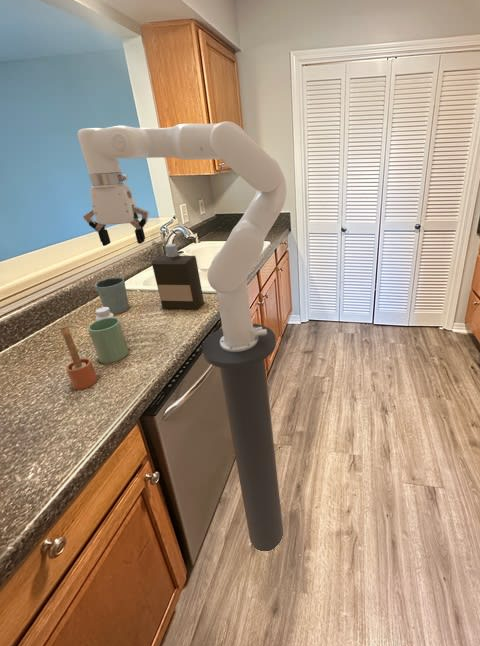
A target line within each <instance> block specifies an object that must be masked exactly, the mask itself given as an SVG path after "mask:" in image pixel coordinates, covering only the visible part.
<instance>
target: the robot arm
mask: <svg viewBox="0 0 480 646" xmlns="http://www.w3.org/2000/svg"><path fill="white" fill-rule="evenodd" d="M77 138H78V142H79V146H80V149H81V153H82V156H83V159H84V163H85V167H86V168H87V173H88V177H89V181H90V184H91V187H89V192H90V200H91V206H92V210H90V211H88V212H87V213H86V214H84V215H83V220H85V222H86V223H87V224H88V226H90V227H91V228H92V229H94V231H95V232H96V233H98V237H99V240H100V243H101V244H102V246H103V247H106V246H108V245H110V244H111V239H110V235H109V231H108V230H107V229H106V226H107V225H108V226H109V225H124V224H130V225H131V226H133V228H135V229H134V233H135V234H134V235H135V238H136V242H137V244H139V245H141V244H143V243H144V242H145V240H146V236H145V232H144V231H145V230H144V227H145V226H146V224H147V223H148V220H149V217H150V212H149V211H148V210H146V209H143V208H140V207H138V206H137V203H136V200H135V198H134V196H133V192H132V190H131V188H130V186H129V185H128V184H125V181H128V180H129V177H128V175H127V174H123V172H122V169H121V165H120V161H119V159H125V160H126V159H129V160H131V159H145V158H147V159H149V158H153V159H155V158H158V159H159V158H171V159H172V158H173V159H180V160H182V161H183V160H186V161H190V160H191V161H193V160H194V161H195V160H197V161H199V160H200V161H201V160H221V161H222V162H223V163H225V165H227V167H229V168H230V169H231V170H232V171H233V172H234V173H236V174H237V175H238V176H239V177H240V178H241V179H243V180H244V181H245V182H246V183H247V184H248V185H249V186H251V188H253V189H254V190H255V195H254V196H253V198H252V200H251V202H250V203H249V205H248V207H247V209H246V210H245V212H244V213H243V215H242V217H241V218H240V219H239V220H238V222H237V223H236V225H234V227H233V228H232V230H231V232H230V234H229V235H228V238H227V239H226V241H225V242H224V244H223V246H222V247H221V249H220V251H218V252H217V253H216V254H215V256H214V257H213V259H212V261H211V264H210V265H209V267H208V271H207V275H206V276H207V282H208V284H209V285H210V287H211V288H212V289H213V290H214V291H216V298H217V304H218V310H219V317H220V321H221V322H220V323H221V329H223V335H224V336H223V337H222V338H221V339H220V346H221V348H222V349H224V350H226V351H229V352H241V351H245V350H248V349H250V348H252V347H253V346H255V345H256V344H257V342H258V336H260V335H267V330H266V329H263V330H262V327H258V328H255V327H253V324H254V323H252V315H251V308H250V306H251V305H250V300H249V299H250V297H249V296H250V295H249V289H248V287H249V286H248V279H247V277H248V275H249V273H250V272H251V270H252V269H253V267H254V266H255V264H256V263H257V261H258V259H259V258H260V257H261V255H262V252H263V250H264V246H265V239H266V237H267V235H268V233H269V232H270V231H271V229H272V227H273V226H274V224H275V222H276V221H277V219H278V217H279V216H280V214H281V212H282V210H283V208H284V206H285V202H286V198H287V183H286V179H285V175H284V173H283V170H282V168H281V166H280V164H279V163H278V161H277V160H276V159H275V158H273V157H271V156H270V155H269V154H268V153H267V152H266V151H265V150H264V149H263V148H261V146H260V145H259V144H257V142H255V141H254V140H253V139H252V138H251V137H250V136H249V135H248V134H247V133H246V131H244V129H243V128H242V127H241V126H240V125H239V124H237V123H235V122H233V121H221V122H218V123H179V124H176V125H174V126H170V127H134V126H129V125H128V126H127V125H114V126H113V125H112V126H108V127H104V128H102V127H86V128H80V129H79V130H78V131H77ZM140 216H141V219H140ZM93 217H94V218H95V220H94V218H93Z"/></svg>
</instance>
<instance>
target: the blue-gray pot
mask: <svg viewBox="0 0 480 646" xmlns="http://www.w3.org/2000/svg"><path fill="white" fill-rule="evenodd" d="M94 288H95V289H96V292H97V294H98V297H99V299H100V301H101V304H102V307H109V309H110V313H113V315H116V314H121V313H123V312H126V311H128V309H129V308H130V304H129V298H128V293H127V288H126V282H125V278H124V277H119V276H113V277H107V278H103V279H100V280H98V281H97V282H96V283H95V284H94Z"/></svg>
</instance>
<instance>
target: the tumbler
mask: <svg viewBox="0 0 480 646" xmlns="http://www.w3.org/2000/svg"><path fill="white" fill-rule="evenodd" d="M87 331H88V333H89V336H90V339H91V341H92V344H93V348H94V350H95V353H96V355H97V359H98V361H99V362H100V363H102V364H111V363H116V362H118V361H120V360H123V359H124V358H126V356H128V354H129V352H130V351H129V346H128V342H127V340H126V337H125V333H124V330H123V327H122V323H121V319H120V318H118V317H115V316H114V317H110V318H104V319H100V320H98V321H96V320H95V321H93V322H92V323H90V324H89V325H88V327H87Z"/></svg>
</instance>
